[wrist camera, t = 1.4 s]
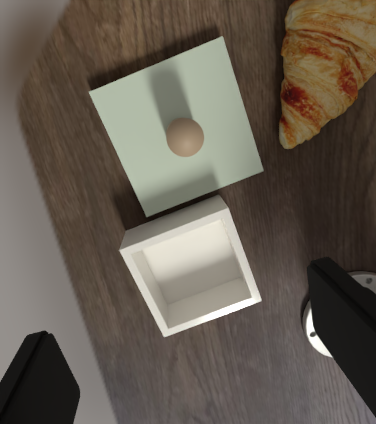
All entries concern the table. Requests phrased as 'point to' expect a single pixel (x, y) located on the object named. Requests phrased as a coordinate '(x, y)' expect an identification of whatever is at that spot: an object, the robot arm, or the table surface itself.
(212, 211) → the dish
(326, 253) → the table surface
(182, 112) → the lid
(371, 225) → the table surface
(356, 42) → the croissant
